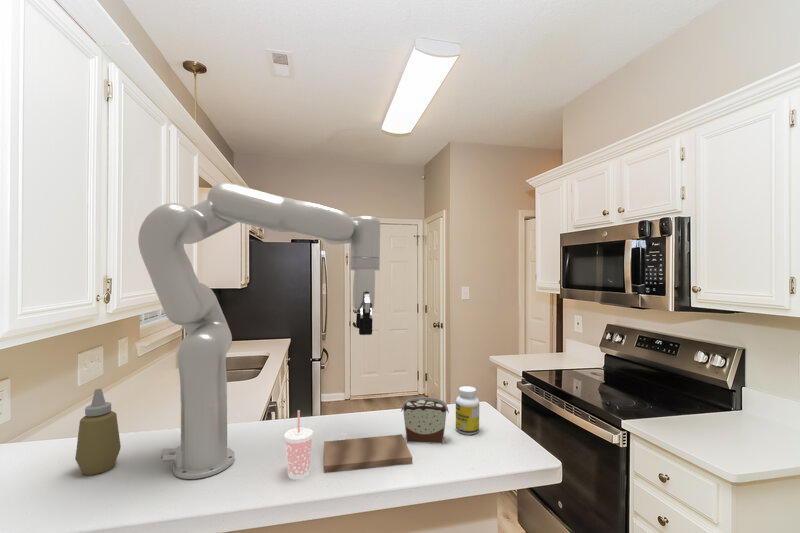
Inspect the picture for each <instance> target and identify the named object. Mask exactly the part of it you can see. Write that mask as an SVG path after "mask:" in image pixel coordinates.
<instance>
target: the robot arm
mask: <svg viewBox="0 0 800 533" xmlns="http://www.w3.org/2000/svg"><path fill="white" fill-rule="evenodd" d="M238 223H241V224H245V225H248V226H251V227H256V228H261V229H264V230H267V231H273V232H279V233H296V234H302V235H308V236H311V237H315V238H319V239H322V240H323V241H324V242H325V243H327V244H329V245H344V244H345V245H346V244H350V259H349V260H350V264H349V266H350V269H349V270H350V271H353V272H354V273H353V283H352V287H353V288H352V290H353V291H352V307H353V309H354V310H355V311H356V317H355V318H356V322H355V323H356V329H358V335H360V336H369V335H370V336H371V335H373V314H372V313H373V311H372V310H373V309H374V307H375V297H376V296H375V294H376V271H380V268H381V266H380V265H381V264H380V263H381V258H380V257H381V256H380V255H381V221H380V219H379V218H378V217H377V216H373V215H372V216H371V215H357V216H354V217H353V218H352V217H351V216H350V215H349V213H346V211H342V210H340V209H336V208H332V207H329V206H325V205H322V204H318V203H313V202H309V201H305V200H299V199H294V198H290V197H285V196H281V195H277V194H273V193H269V192H265V191H261V190H258V189H255V188H251V187H247V186H245V185H242V184H241V185H240V184H236V183H232V182H225V181H224V182H223V181H222V182H218V183H216V184H214V185H213V186H212V187H211V188H210V189H209V191H208V193H207V198H206V200H204V201H203V200H202V201H201V202H198V203H197V204H194V205H192V206H191V207H190V206H187V205H185V204H182V203H176V202H175V203H174V202H169V203H164V204H162V205H160V206H158V207H156V208H155V209H153V210H152V211H151V212H150V213H148V214H147V215H146V217H145V218H144V220H143V222H142V224H141V225H140V228H139V231H138V248H139V252H140V255H141V259H142V260H143V263H144V266H145V268H146V271H147V273H148V274H149V277H150V280H151V282H152V285H153V288H154V291H155V292H156V293H155V294H156V295H157V298H158V300H159V302H160V304H161V307H162V310H163V313H164V314H165V317H166V318H167V319H168V320H169V321H170V322H171V323H173V324H175V325H178V326H183V329H184V331H185V333H186V335H185V337H183V339H182V341H181V342H180V345H179V347H178V349H177V365H178V366H177V367H178V374H179V386H180V391H179V393H180V394H179V396H180V397H179V400H180V445H179V446H177V447H174V448H171V447H170V448H163V449H162V450H161V452H160V453H161V454H160V457H161V459H162V462H163V463H167V462H168V463H169V462H174V463H173V466H172V473H173V475H174V476H176V478H180V479H184V480H196V479H198V480H199V479H203V478H208V477H211V476H213V475H217V474H219V473H221V472H223V471H225V470H226V469H228V468H229V467H230V466H231V465H232V464H233V463H234V461H235V452H234V450H232V449H231V448H229V447H228V377H227V365H226V363H227V361H226V360H227V359H226V358H227V354H228V352H229V350H230V348H231V346H232V342H233V337H232V332H231V330H230V327H229V325H228V322H227V319H226V316H225V315H224V313H223V310H222V307H221V305H220V303H219V300H218V298H217V295H216V294H215V293H214V291H213V289H212V288H210V287H209V286H208V285H206V284H204V283H201V282H199V278H197V275H196V273H195V272H196V271H195V270H194V268H193V264H192V262H191V260H190V258H189V256H188V255H187V253H186V250H185V246H184V245H185V244H186V245H192V244H196V243H199V242H201V241H204V240H206V239H207V238H210V237H212V236H213V235H217V233H219V232H222V231H224V230H227V229H228V228H230V227H232V226H234V225H236V224H238Z"/></svg>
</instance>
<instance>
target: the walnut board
mask: <svg viewBox="0 0 800 533" xmlns="http://www.w3.org/2000/svg"><path fill="white" fill-rule="evenodd" d="M323 449H324V450H323V452H324V453H323V455H324V456H323V458H324V459H323V460H324V461H323V464H324V465H323V469H324V470H323V473H324V474H326V473H327V474H329V473H336V472H345V471H347V472H348V471H354V470H355V471H356V470H363V469H364V470H365V469H373V468H381V467H382V468H383V467H392V466H401V465H410V464H413V456H412V454H411V451H410V449H409V447H408V443H407V441H406V440H405V438H404V436H403V434H391V435H380V436H370V437H369V436H368V437H358V438H349V439H337V440H336V439H335V440H326V441H325V440H324V441H323Z"/></svg>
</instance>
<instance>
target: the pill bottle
mask: <svg viewBox="0 0 800 533" xmlns="http://www.w3.org/2000/svg"><path fill="white" fill-rule="evenodd" d="M458 389H459V390H458V391H459V392H458V393H459V396H457V397H456V398H455V429H456V431H457V432H458V433H459V434H463V435H465V436H466V435H468V436H469V435H470V436H472V435H475V434H478V432H479V431H480V400H479V398H478V397H476V395H477V389H476V388H475V387H474V386H468V385H467V386H466V385H465V386H464V385H463V386H460V387H459V388H458Z"/></svg>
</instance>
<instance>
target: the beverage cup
mask: <svg viewBox="0 0 800 533" xmlns="http://www.w3.org/2000/svg"><path fill="white" fill-rule="evenodd" d="M313 434H314V431H313V429H311V428H309V427H305V426H304V427H301V410H299V409H298V410H297V427H295V428H291V429H289V430H287V431H285V433H284V441H285V449H286V463H287V464H286V465H287V476H288V478H289V479H290V480H294V481H295V480H302V479H305V478H307V477H308V476H309V475H310V471H311V458H312V457H311V454H312V441H313V440H312V439H313V436H314V435H313Z"/></svg>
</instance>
